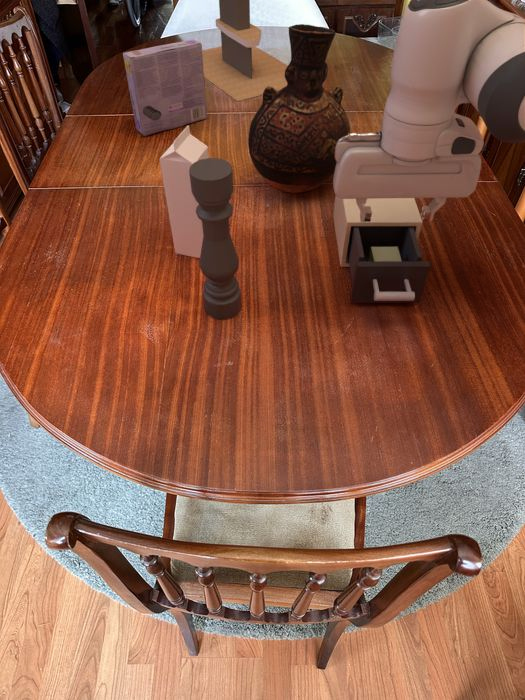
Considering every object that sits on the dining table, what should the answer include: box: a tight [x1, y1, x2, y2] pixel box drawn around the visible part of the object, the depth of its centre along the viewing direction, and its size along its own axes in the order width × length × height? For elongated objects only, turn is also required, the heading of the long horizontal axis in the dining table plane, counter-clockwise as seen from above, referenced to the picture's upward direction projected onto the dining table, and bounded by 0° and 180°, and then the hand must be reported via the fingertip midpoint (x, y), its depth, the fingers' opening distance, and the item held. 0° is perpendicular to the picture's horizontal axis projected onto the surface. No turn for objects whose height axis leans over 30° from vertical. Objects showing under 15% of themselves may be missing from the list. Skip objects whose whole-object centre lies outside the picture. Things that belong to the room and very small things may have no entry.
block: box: [368, 247, 401, 261], centre depth 85 cm, size 4×4×4 cm
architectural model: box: [202, 0, 289, 102], centre depth 144 cm, size 38×25×20 cm, turn 32°
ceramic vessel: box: [247, 23, 351, 194], centre depth 99 cm, size 21×18×30 cm
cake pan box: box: [122, 38, 208, 137], centre depth 122 cm, size 19×5×18 cm, turn 123°
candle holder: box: [189, 157, 242, 320], centre depth 76 cm, size 6×6×25 cm
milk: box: [159, 125, 210, 259], centre depth 87 cm, size 6×6×22 cm
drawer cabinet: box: [332, 194, 424, 268], centre depth 93 cm, size 16×13×10 cm
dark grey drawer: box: [347, 226, 431, 304], centre depth 85 cm, size 19×11×8 cm, turn 0°
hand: (395, 219), depth 78 cm, fingers open, 8 cm apart
